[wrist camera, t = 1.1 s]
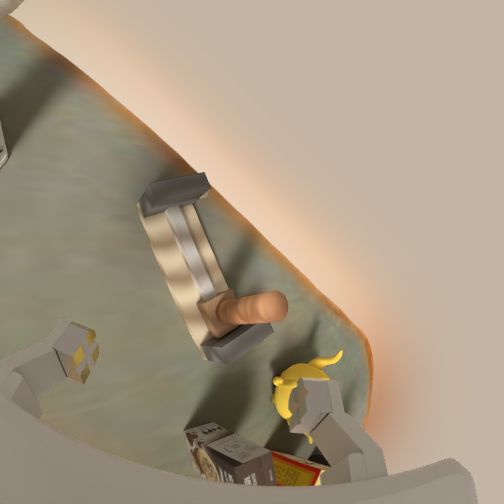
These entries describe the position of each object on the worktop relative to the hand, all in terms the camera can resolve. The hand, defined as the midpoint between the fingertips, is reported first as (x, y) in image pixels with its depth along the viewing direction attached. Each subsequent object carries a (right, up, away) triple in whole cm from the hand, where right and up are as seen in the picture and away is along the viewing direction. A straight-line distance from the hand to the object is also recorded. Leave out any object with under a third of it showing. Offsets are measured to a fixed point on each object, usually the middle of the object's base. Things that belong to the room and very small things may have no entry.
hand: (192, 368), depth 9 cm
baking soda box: (+7, -42, +37) cm, 56 cm away
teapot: (+9, -25, +44) cm, 52 cm away
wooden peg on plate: (-4, -6, +37) cm, 37 cm away
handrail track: (-8, +1, +38) cm, 39 cm away
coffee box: (-7, -31, +30) cm, 43 cm away
